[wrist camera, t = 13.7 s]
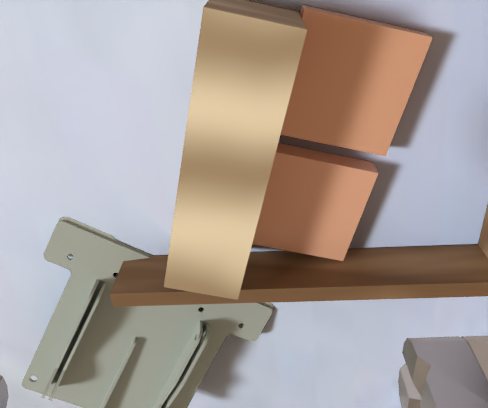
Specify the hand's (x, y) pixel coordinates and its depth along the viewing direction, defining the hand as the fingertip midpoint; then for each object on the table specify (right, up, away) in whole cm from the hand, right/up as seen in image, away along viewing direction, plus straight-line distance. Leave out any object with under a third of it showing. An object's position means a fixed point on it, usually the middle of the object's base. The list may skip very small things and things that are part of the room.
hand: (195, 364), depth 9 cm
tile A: (+5, +4, +18) cm, 19 cm away
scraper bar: (0, +7, +16) cm, 17 cm away
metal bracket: (-7, -5, +24) cm, 25 cm away
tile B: (+6, +10, +14) cm, 18 cm away
